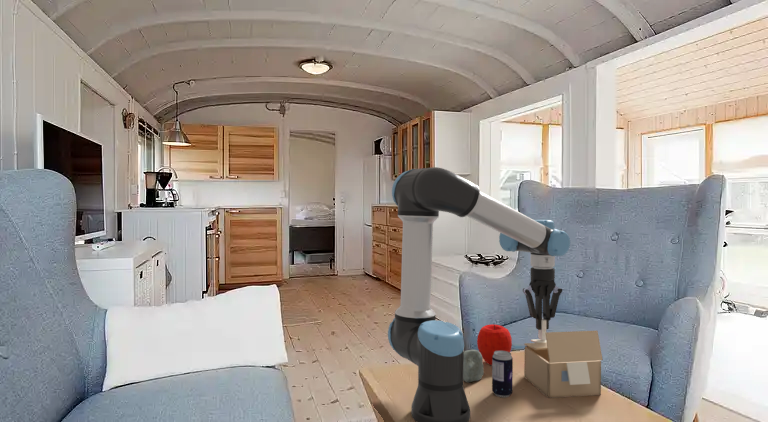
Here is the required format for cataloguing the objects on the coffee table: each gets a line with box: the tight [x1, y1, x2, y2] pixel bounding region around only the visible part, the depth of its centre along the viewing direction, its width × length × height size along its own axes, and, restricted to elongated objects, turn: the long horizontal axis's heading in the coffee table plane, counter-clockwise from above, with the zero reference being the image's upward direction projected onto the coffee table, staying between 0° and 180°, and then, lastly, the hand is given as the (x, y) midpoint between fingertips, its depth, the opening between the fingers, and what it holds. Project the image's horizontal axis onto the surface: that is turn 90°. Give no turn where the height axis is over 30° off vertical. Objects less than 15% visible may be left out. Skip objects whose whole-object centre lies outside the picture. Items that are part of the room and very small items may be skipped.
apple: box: [476, 324, 513, 367], centre depth 165 cm, size 12×12×13 cm
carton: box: [523, 345, 602, 399], centre depth 146 cm, size 16×16×10 cm
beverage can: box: [491, 351, 514, 398], centre depth 139 cm, size 6×6×12 cm
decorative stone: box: [463, 349, 485, 383], centre depth 153 cm, size 13×11×10 cm
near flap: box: [545, 330, 603, 385], centre depth 137 cm, size 16×14×1 cm
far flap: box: [523, 338, 548, 350], centre depth 153 cm, size 16×14×1 cm
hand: (542, 339), depth 158 cm, fingers closed
